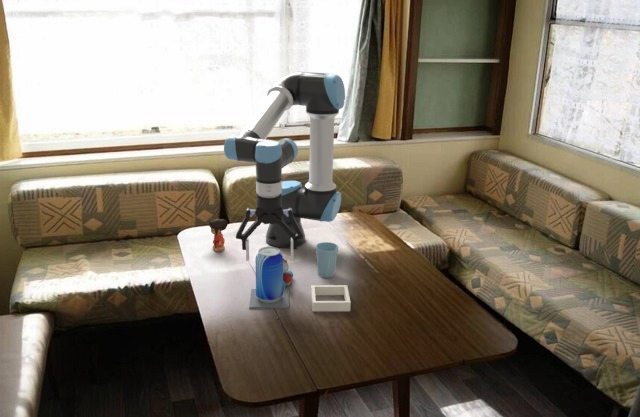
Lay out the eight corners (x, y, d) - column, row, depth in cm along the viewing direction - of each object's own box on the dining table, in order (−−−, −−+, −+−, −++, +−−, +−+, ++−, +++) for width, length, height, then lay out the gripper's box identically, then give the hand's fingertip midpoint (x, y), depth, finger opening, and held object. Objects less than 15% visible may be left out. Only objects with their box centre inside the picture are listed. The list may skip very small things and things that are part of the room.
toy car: (271, 275, 211) (271, 248, 208) (295, 279, 209) (295, 252, 206) (261, 287, 203) (260, 259, 200) (286, 291, 201) (286, 263, 197)
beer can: (271, 289, 200) (270, 243, 195) (288, 298, 195) (288, 251, 189) (250, 297, 195) (249, 250, 189) (267, 306, 189) (267, 258, 184)
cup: (341, 277, 211) (342, 249, 207) (320, 280, 208) (321, 252, 205) (331, 268, 218) (332, 240, 214) (311, 271, 215) (312, 244, 211)
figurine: (219, 244, 235) (218, 214, 231) (229, 247, 232) (229, 217, 228) (207, 249, 230) (205, 219, 226) (217, 253, 227) (216, 222, 223)
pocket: (311, 293, 199) (311, 285, 198) (346, 293, 200) (347, 285, 199) (312, 311, 188) (312, 302, 187) (350, 311, 189) (350, 302, 188)
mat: (251, 290, 200) (251, 288, 200) (288, 290, 201) (288, 288, 201) (249, 308, 189) (249, 307, 189) (288, 308, 190) (288, 306, 189)
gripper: (225, 198, 179) (228, 264, 186) (311, 198, 180) (310, 263, 188) (227, 189, 186) (230, 253, 193) (310, 189, 187) (309, 253, 195)
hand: (269, 258), depth 191 cm, fingers open, 13 cm apart
